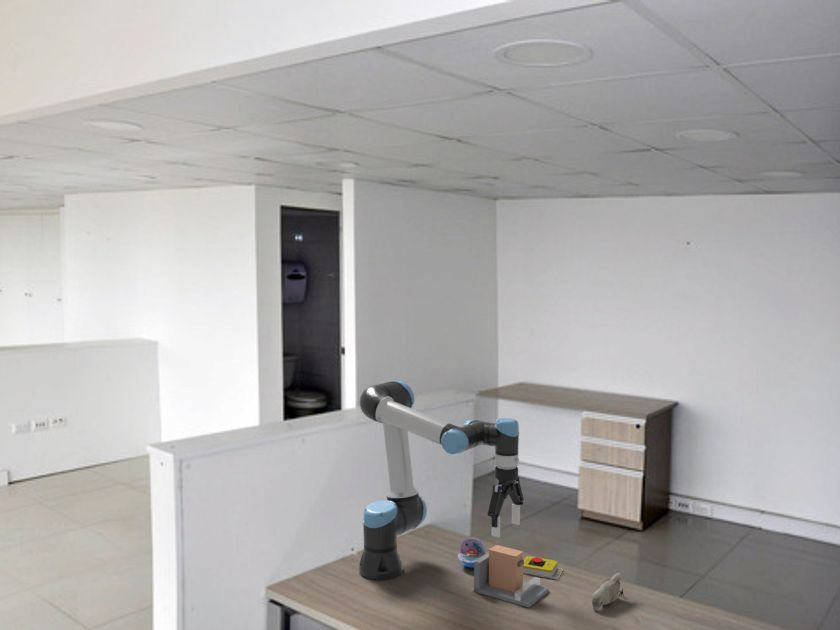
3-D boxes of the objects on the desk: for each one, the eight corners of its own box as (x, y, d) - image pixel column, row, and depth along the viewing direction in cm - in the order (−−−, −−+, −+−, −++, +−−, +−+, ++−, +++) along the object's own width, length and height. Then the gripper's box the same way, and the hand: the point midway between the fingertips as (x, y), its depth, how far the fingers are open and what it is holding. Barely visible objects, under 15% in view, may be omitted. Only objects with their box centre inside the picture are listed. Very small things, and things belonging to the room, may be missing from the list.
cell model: (454, 571, 255) (454, 544, 255) (462, 557, 267) (462, 532, 266) (482, 574, 253) (482, 547, 252) (489, 561, 264) (489, 535, 263)
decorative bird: (586, 609, 227) (587, 586, 227) (611, 592, 239) (611, 570, 238) (602, 615, 223) (602, 591, 223) (626, 597, 235) (627, 575, 235)
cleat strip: (514, 599, 231) (514, 592, 231) (534, 583, 242) (534, 576, 242) (520, 601, 230) (520, 593, 230) (540, 585, 241) (540, 578, 241)
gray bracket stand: (473, 591, 240) (474, 561, 239) (494, 576, 251) (495, 547, 250) (529, 607, 228) (529, 576, 227) (548, 591, 239) (548, 561, 239)
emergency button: (523, 551, 263) (564, 558, 256) (523, 563, 263) (564, 570, 257) (515, 561, 254) (558, 568, 248) (515, 573, 255) (557, 581, 248)
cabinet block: (488, 585, 241) (489, 549, 241) (496, 579, 245) (496, 544, 245) (518, 593, 235) (518, 557, 234) (525, 587, 239) (525, 552, 238)
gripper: (498, 477, 225) (497, 544, 227) (534, 459, 246) (533, 521, 247) (477, 473, 230) (476, 539, 231) (514, 456, 250) (513, 516, 252)
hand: (505, 530), depth 239 cm, fingers open, 13 cm apart
